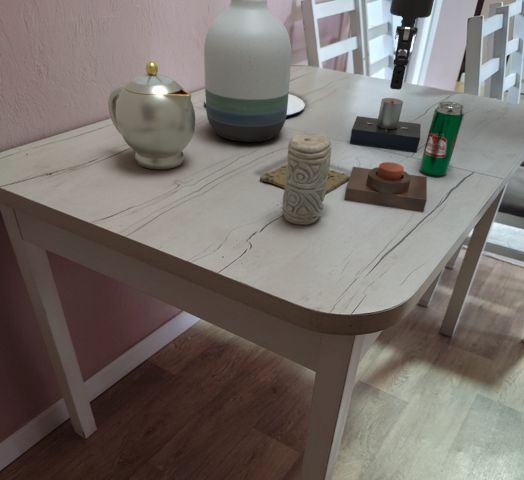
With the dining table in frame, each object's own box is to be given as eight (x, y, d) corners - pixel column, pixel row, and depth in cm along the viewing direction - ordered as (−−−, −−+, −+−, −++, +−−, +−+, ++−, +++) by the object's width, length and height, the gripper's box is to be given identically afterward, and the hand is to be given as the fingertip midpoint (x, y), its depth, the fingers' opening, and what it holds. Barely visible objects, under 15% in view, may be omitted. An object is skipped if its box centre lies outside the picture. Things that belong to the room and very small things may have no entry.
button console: (423, 188, 87) (429, 166, 84) (423, 212, 79) (429, 188, 77) (350, 178, 89) (354, 156, 86) (344, 200, 81) (348, 177, 79)
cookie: (316, 200, 81) (316, 194, 80) (257, 180, 86) (258, 174, 85) (351, 179, 88) (352, 174, 87) (295, 162, 93) (296, 157, 93)
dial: (377, 122, 106) (382, 95, 102) (397, 124, 105) (403, 97, 102) (376, 128, 102) (381, 100, 99) (397, 130, 102) (403, 102, 98)
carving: (278, 226, 73) (283, 144, 65) (285, 205, 79) (291, 127, 71) (319, 232, 73) (331, 149, 65) (324, 210, 78) (334, 132, 70)
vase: (230, 118, 113) (230, -11, 97) (297, 131, 108) (309, -2, 92) (191, 138, 101) (184, -4, 85) (264, 154, 96) (271, 6, 80)
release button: (401, 174, 82) (404, 164, 81) (400, 183, 79) (403, 172, 78) (377, 171, 82) (380, 160, 81) (376, 179, 79) (378, 169, 78)
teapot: (214, 159, 93) (212, 61, 82) (171, 183, 83) (163, 76, 73) (138, 141, 98) (127, 47, 88) (90, 161, 89) (72, 58, 78)
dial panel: (417, 138, 108) (420, 122, 106) (416, 152, 101) (420, 136, 99) (354, 130, 111) (357, 115, 109) (349, 143, 103) (352, 128, 101)
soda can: (413, 171, 93) (431, 103, 85) (427, 165, 96) (445, 99, 88) (437, 180, 90) (457, 110, 82) (450, 173, 93) (471, 105, 85)
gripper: (396, -20, 93) (379, 75, 104) (393, -16, 83) (375, 90, 93) (436, -18, 92) (415, 78, 103) (438, -12, 82) (415, 94, 92)
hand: (396, 84), depth 98 cm, fingers open, 8 cm apart
